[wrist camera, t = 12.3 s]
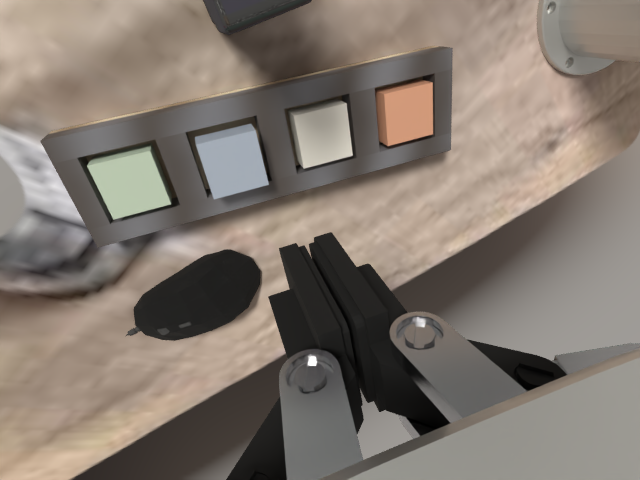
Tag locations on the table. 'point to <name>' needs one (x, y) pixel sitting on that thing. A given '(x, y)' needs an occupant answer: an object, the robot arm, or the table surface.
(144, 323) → the gaming mouse
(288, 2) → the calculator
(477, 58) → the table surface
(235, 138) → the key slate
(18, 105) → the table surface
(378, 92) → the key terracotta
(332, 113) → the key ivory
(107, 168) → the key sage
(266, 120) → the keypad
